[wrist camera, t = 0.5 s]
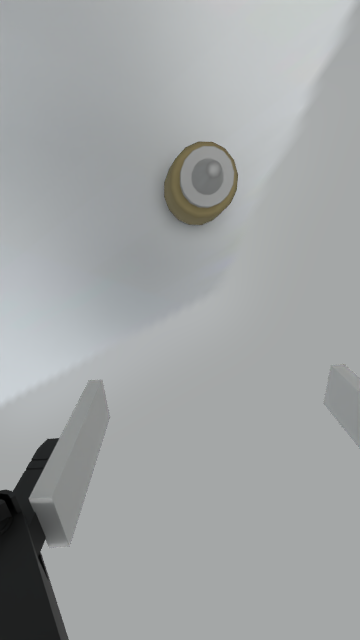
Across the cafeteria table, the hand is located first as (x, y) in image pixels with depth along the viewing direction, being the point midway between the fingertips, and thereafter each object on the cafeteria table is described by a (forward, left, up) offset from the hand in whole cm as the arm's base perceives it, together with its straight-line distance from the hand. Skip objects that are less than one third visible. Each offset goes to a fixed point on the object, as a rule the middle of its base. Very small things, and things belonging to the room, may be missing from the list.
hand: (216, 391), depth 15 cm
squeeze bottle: (-12, +2, -27) cm, 30 cm away
